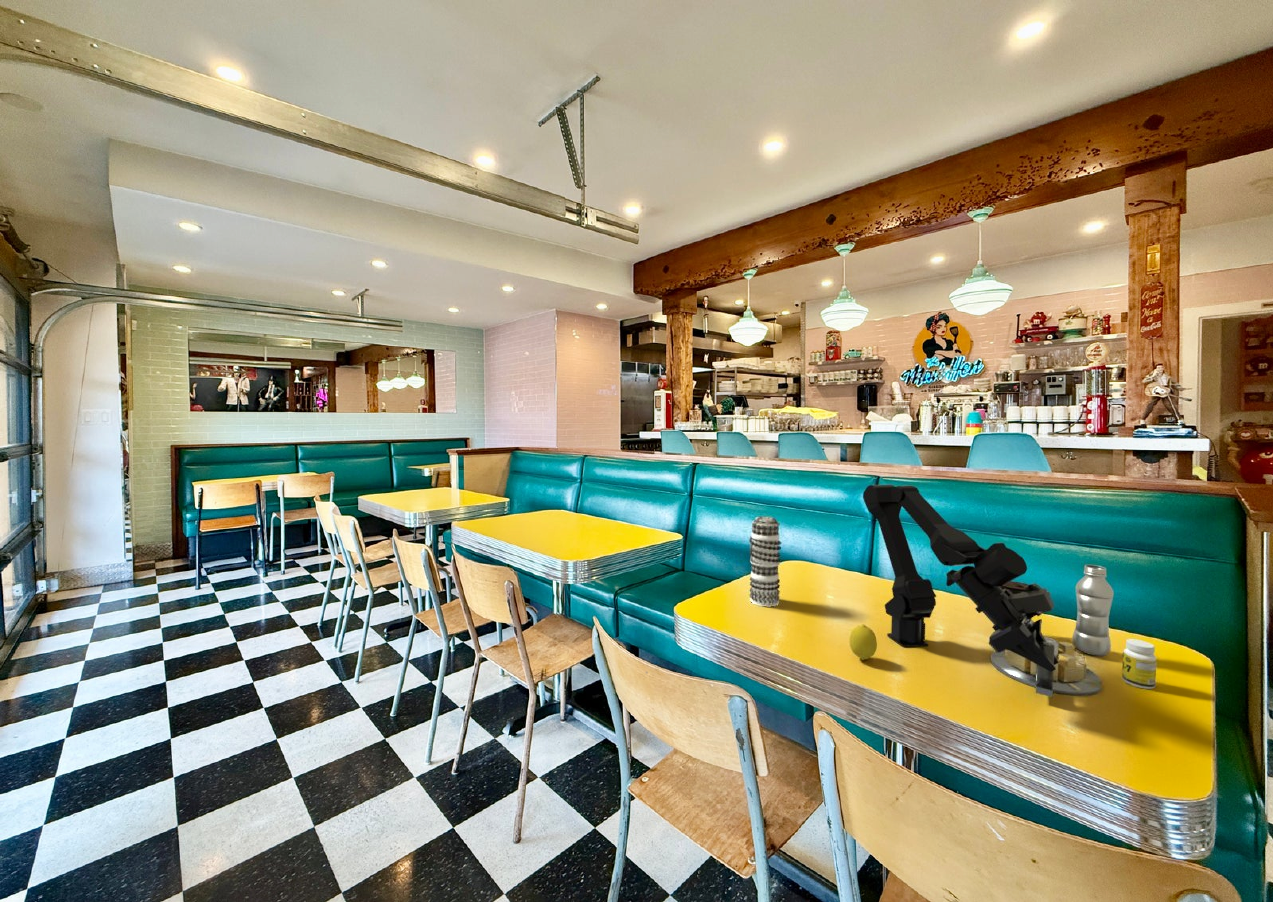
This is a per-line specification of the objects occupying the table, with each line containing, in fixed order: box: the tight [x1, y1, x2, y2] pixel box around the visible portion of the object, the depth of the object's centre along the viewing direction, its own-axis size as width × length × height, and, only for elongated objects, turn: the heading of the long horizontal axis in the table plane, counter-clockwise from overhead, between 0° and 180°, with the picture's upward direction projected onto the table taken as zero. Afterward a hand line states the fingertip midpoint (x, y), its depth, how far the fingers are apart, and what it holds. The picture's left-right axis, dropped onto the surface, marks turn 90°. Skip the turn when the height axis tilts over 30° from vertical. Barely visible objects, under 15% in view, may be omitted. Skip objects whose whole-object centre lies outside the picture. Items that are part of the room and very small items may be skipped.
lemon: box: [848, 623, 878, 661], centre depth 109 cm, size 6×6×8 cm
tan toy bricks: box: [1005, 641, 1087, 698], centre depth 100 cm, size 22×13×10 cm, turn 141°
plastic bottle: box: [1072, 564, 1115, 657], centre depth 112 cm, size 6×7×20 cm
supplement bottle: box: [1121, 638, 1158, 690], centre depth 99 cm, size 5×5×8 cm
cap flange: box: [990, 635, 1103, 697], centre depth 104 cm, size 18×18×7 cm
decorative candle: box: [748, 516, 782, 608], centre depth 145 cm, size 9×9×25 cm
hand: (1054, 666), depth 92 cm, fingers open, 3 cm apart
